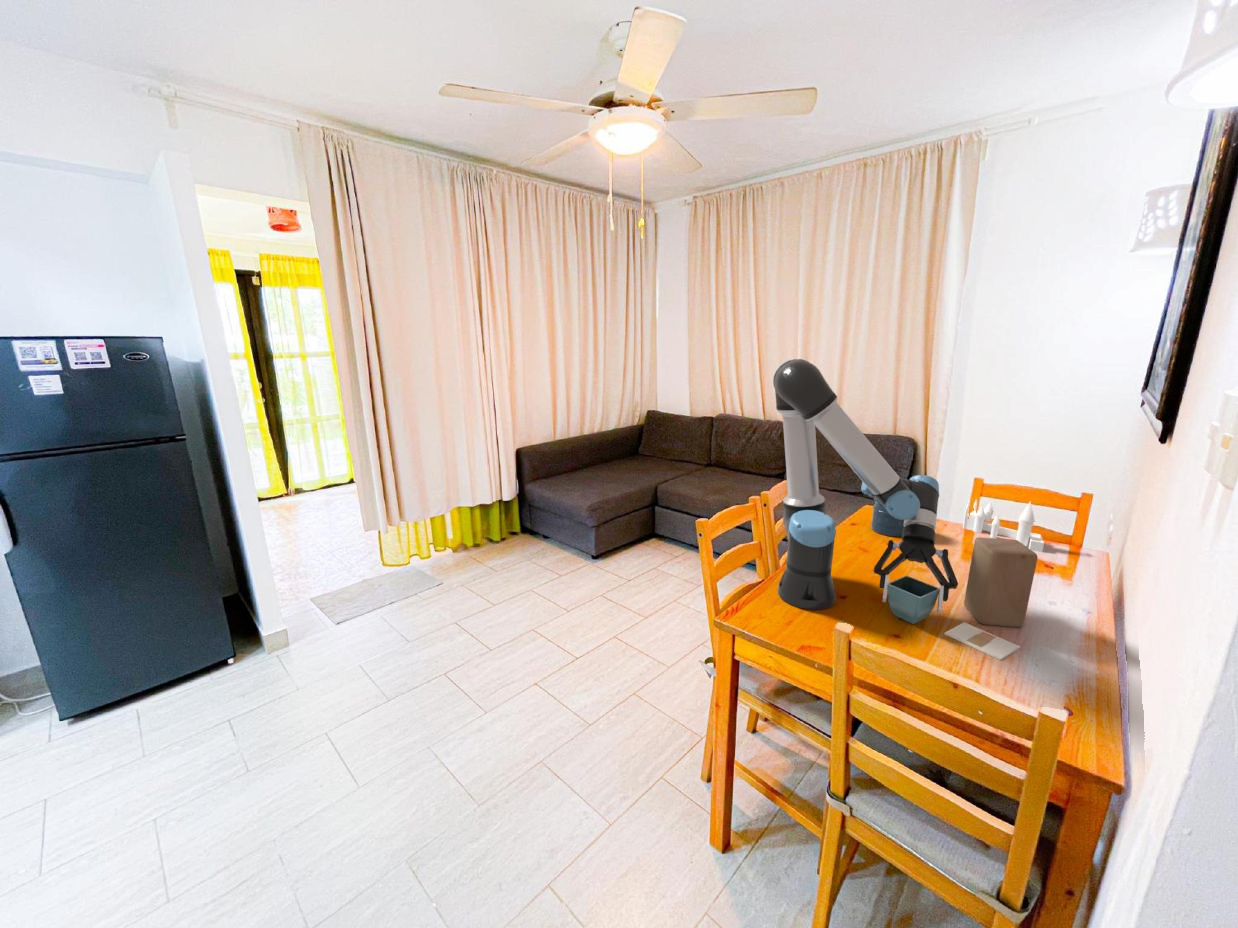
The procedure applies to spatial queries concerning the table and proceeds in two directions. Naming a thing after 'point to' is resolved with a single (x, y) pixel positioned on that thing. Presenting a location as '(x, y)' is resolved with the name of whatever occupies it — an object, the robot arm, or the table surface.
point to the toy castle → (1020, 535)
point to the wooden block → (1000, 581)
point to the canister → (885, 521)
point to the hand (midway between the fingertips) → (911, 606)
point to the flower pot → (911, 598)
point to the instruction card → (982, 640)
